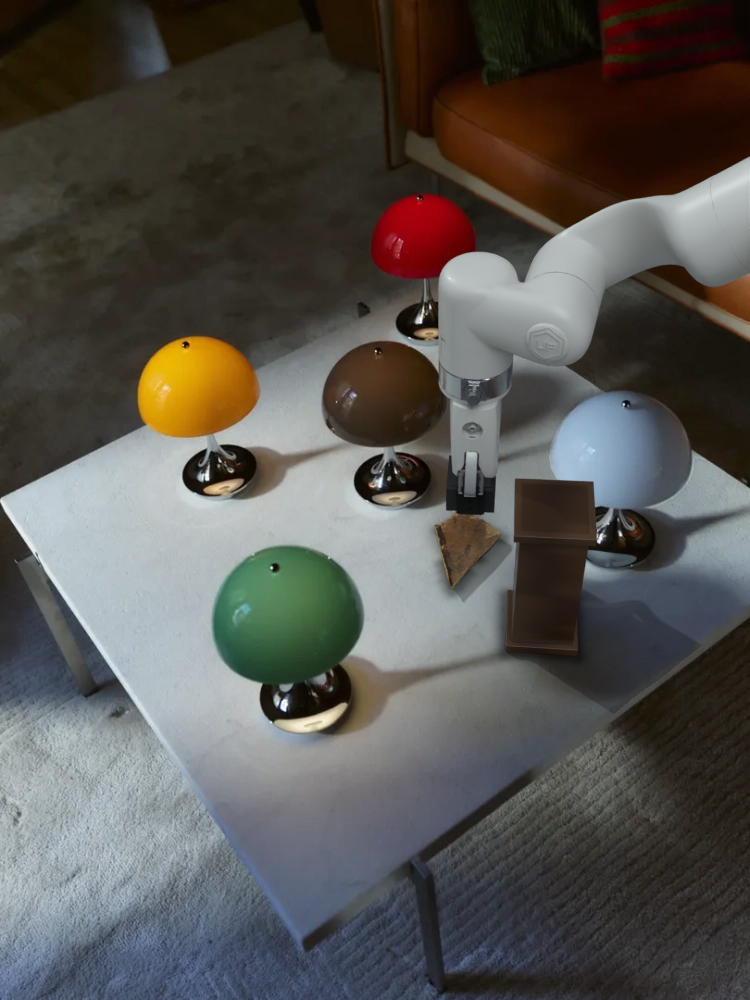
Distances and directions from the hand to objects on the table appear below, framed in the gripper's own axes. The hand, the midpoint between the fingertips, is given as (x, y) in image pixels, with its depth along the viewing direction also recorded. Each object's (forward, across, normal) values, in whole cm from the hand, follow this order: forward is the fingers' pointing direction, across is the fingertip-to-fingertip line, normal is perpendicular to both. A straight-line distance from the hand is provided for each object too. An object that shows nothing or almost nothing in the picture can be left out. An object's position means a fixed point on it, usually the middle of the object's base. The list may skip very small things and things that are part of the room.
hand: (471, 491), depth 110 cm
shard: (+11, 0, 0) cm, 11 cm away
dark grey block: (0, 0, 0) cm, 0 cm away
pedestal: (+11, -10, -9) cm, 17 cm away
